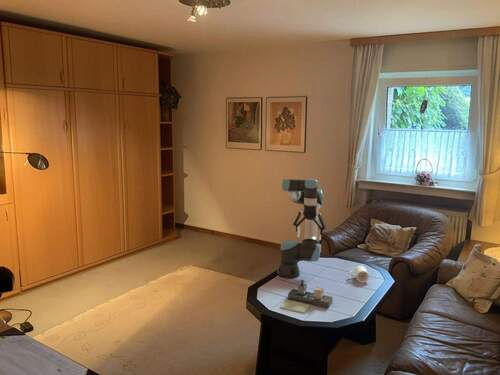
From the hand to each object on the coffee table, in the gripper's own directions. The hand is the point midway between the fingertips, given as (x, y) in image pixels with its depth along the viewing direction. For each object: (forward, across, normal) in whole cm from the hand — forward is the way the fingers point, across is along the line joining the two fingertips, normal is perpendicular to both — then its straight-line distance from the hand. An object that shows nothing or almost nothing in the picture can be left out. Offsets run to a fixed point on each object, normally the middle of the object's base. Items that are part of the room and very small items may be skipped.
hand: (308, 238), depth 249 cm
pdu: (+32, +8, -19) cm, 38 cm away
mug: (+32, +26, +28) cm, 50 cm away
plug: (+31, +13, -19) cm, 38 cm away
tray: (+32, +3, -30) cm, 44 cm away
